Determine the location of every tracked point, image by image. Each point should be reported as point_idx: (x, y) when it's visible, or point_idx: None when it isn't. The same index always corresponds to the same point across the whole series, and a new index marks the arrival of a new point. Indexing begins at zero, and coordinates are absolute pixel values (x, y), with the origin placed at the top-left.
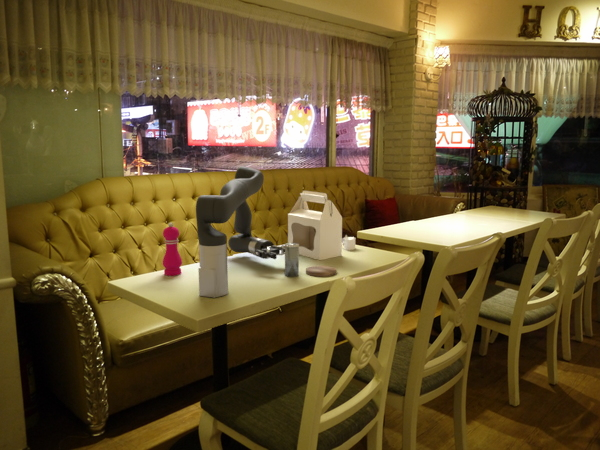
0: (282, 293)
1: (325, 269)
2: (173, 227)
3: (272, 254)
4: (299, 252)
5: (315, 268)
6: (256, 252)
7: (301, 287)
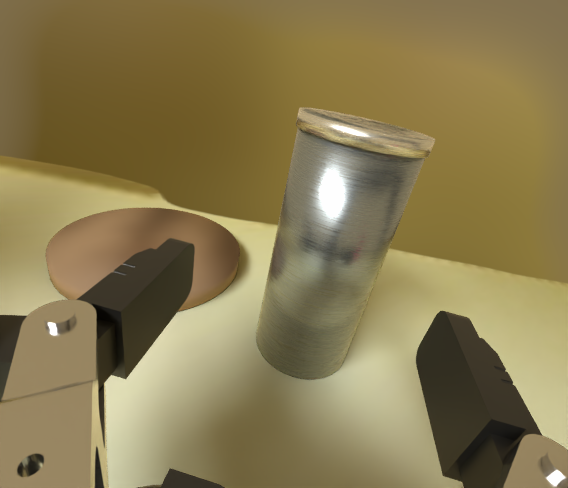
0: (480, 270)
1: (144, 232)
2: None
3: (486, 349)
4: None
5: None
6: None
7: (389, 253)
